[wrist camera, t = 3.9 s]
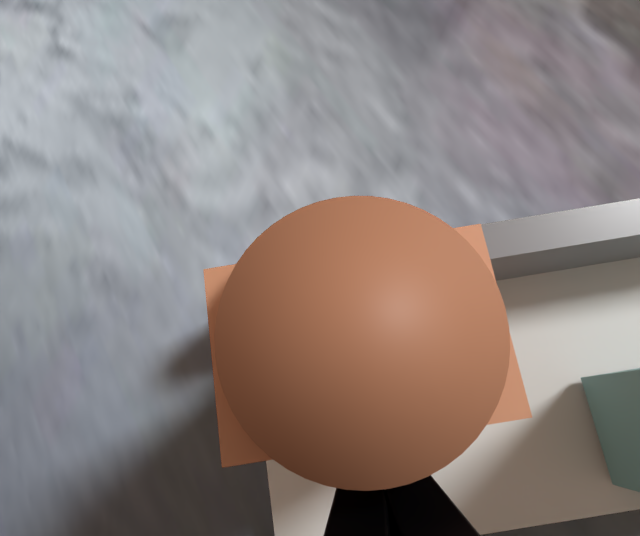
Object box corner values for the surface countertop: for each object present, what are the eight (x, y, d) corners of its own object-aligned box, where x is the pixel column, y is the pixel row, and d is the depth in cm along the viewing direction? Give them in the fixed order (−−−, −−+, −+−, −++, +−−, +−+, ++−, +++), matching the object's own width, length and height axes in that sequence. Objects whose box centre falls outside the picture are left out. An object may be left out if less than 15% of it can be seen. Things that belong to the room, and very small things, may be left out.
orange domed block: (438, 430, 15) (567, 460, 6) (289, 454, 15) (210, 517, 6) (411, 299, 16) (486, 172, 7) (272, 322, 16) (185, 222, 7)
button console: (775, 479, 15) (917, 503, 11) (282, 559, 15) (261, 608, 11) (677, 227, 17) (767, 177, 13) (250, 297, 17) (224, 266, 13)
